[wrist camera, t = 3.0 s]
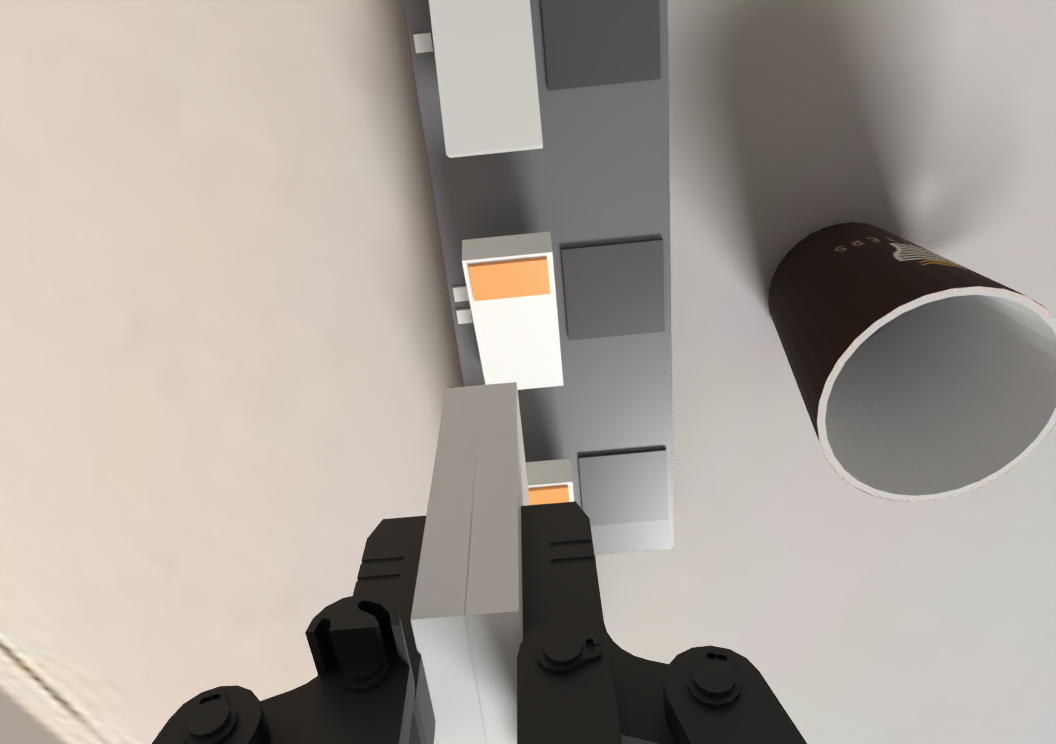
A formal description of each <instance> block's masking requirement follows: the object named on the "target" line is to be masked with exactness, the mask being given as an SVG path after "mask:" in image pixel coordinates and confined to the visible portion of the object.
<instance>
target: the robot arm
mask: <svg viewBox="0 0 1056 744" xmlns="http://www.w3.org/2000/svg"><path fill="white" fill-rule="evenodd" d="M357 578H358V582H356V585H355V589H354V593H353V596H351V597H347V598H343V599H341V600H339V601H337V602H335V603H333V604H331V605H329V606H327V607H325V608H324V609H323V610H322V611H321V612H320V613H319V614H318V615H317V616H315V617H314V618H313V620H312V621H311V623H310V625H309V627H308V629H307V631H306V632H305V633H306V636H307V640H308V643H309V646H310V649H311V653H312V656H313V659H314V662H315V666H316V669H317V672H318V676H317V677H316V678H314V679H313V680H311V681H310V682H308V683H307V684H305V685H302V686H300V687H298V688H296V689H293V690H291V691H288V692H285V693H283V694H280V695H277V696H274V697H271V698H268V699H265V700H263V701H259V699H258V698H257V697H256V696H255V695H254V693H253V692H252V691H251V690H248V689H245V688H243V687H240V686H220V687H217V688H214V689H211V690H208V691H205V692H202V693H200V694H199V695H197V696H195V697H194V698H192V699H191V700H189V701H188V702H186V703H185V704H183V705H182V706H181V707H180V708H179V709H178V710H177V712H176V713H175V714H174V715H173V716H172V717H171V718H170V719H169V720H168V722H167V723H166V725H165V726H164V727H163V729H162V730H161V732H160V733H159V734H158V736H157V737H156V739H155V740H154V741H153V743H152V744H433V743H434V733H435V734H436V739H437V743H438V744H807V743H806V741H805V740H804V738H803V737H802V735H801V734H800V732H799V731H798V729H797V728H796V726H795V725H794V723H793V722H792V720H791V719H790V717H789V716H788V714H787V713H786V711H785V710H784V708H783V707H782V705H781V704H780V702H779V701H778V699H777V698H776V696H775V695H774V693H773V692H772V690H771V688H770V687H769V685H768V684H767V682H766V681H765V679H764V678H763V676H762V675H761V673H760V672H759V671H758V670H757V669H756V668H755V666H754V665H753V664H752V663H751V662H750V661H749V660H748V659H747V658H745V657H743V656H741V655H739V654H738V653H736V652H734V651H732V650H730V649H725V648H720V647H715V646H704V647H695V648H691V649H689V650H687V651H685V652H683V653H680V654H678V655H677V656H676V657H675V658H674V659H673V661H672V662H671V663H670V664H665V663H660V662H655V661H650V660H646V659H643V658H639V657H636V656H634V655H632V654H630V653H628V652H626V651H624V650H623V649H621V648H620V647H619V646H618V645H617V644H616V643H615V642H613V640H612V639H611V637H610V636H609V634H608V633H607V631H606V628H605V624H604V621H603V613H602V606H601V599H600V591H599V584H598V577H597V570H596V562H595V555H594V548H593V541H592V533H591V526H590V519H589V517H588V516H587V515H586V514H585V512H584V511H583V510H582V509H581V507H580V506H579V505H578V504H577V502H576V501H574V502H562V503H550V504H538V505H529V496H528V480H527V471H526V462H525V453H524V444H523V435H522V426H521V417H520V408H519V399H518V390H517V382H511V383H499V384H488V385H477V386H465V387H454V388H446V392H445V399H444V405H443V412H442V418H441V425H440V431H439V438H438V444H437V451H436V457H435V464H434V470H433V477H432V483H431V490H430V496H429V503H428V509H427V516H417V517H405V518H393V519H383V520H382V521H381V522H380V524H379V525H378V526H377V527H376V529H375V530H374V531H373V532H372V534H371V535H370V536H369V537H368V538H367V541H366V545H365V549H364V553H363V557H362V564H361V565H360V569H359V573H358V577H357Z"/></svg>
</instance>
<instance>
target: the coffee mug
mask: <svg viewBox="0 0 1056 744" xmlns="http://www.w3.org/2000/svg"><path fill="white" fill-rule="evenodd" d="M769 307H770V313H771V316H772V319H773V322H774V324H775V327H776V330H777V332H778V335H779V337H780V340H781V343H782V345H783V348H784V350H785V353H786V356H787V358H788V361H789V364H790V366H791V369H792V371H793V374H794V377H795V379H796V382H797V385H798V387H799V390H800V392H801V395H802V398H803V400H804V403H805V406H806V408H807V411H808V413H809V416H810V419H811V421H812V424H813V426H814V429H815V432H816V434H817V437H818V440H819V442H820V445H821V447H822V449H823V452H824V454H825V457H826V459H827V461H828V462H829V463H830V465H831V466H832V467H833V469H834V470H835V471H836V473H837V474H838V475H839V476H841V477H842V478H843V479H844V480H846V481H847V482H848V483H849V484H851V485H852V486H853V487H855V488H857V489H859V490H861V491H864V492H866V493H868V494H870V495H873V496H877V497H880V498H884V499H888V500H895V501H907V502H918V501H931V500H938V499H943V498H947V497H952V496H956V495H960V494H962V493H965V492H968V491H970V490H973V489H976V488H978V487H981V486H983V485H985V484H987V483H989V482H990V481H992V480H994V479H996V478H998V477H1000V476H1002V475H1003V474H1005V473H1006V472H1008V471H1009V470H1010V469H1012V468H1013V467H1014V466H1016V465H1017V464H1019V463H1020V462H1021V461H1023V460H1024V459H1025V458H1026V457H1027V456H1028V455H1029V454H1030V453H1031V452H1032V451H1033V450H1034V449H1035V448H1036V447H1037V446H1038V445H1039V444H1040V443H1041V442H1042V441H1043V440H1044V438H1045V437H1046V436H1047V434H1048V433H1049V432H1050V430H1051V429H1052V428H1053V426H1054V425H1055V424H1056V318H1055V317H1054V316H1053V315H1052V314H1051V313H1050V312H1049V311H1048V310H1047V309H1046V308H1045V307H1044V306H1042V305H1041V304H1039V303H1037V302H1036V301H1034V300H1032V299H1031V298H1029V297H1027V296H1025V295H1023V294H1021V293H1019V292H1017V291H1015V290H1012V289H1010V288H1008V287H1006V286H1004V285H1002V284H999V283H997V282H995V281H993V280H991V279H989V278H987V277H984V276H982V275H980V274H978V273H976V272H974V271H971V270H969V269H967V268H965V267H963V266H961V265H958V264H956V263H954V262H952V261H950V260H948V259H945V258H943V257H941V256H939V255H937V254H935V253H932V252H930V251H928V250H926V249H924V248H922V247H919V246H917V245H915V244H913V243H911V242H909V241H907V240H904V239H902V238H900V237H898V236H896V235H894V234H891V233H889V232H887V231H885V230H883V229H881V228H878V227H875V226H872V225H869V224H862V223H844V224H837V225H833V226H829V227H826V228H823V229H821V230H819V231H817V232H815V233H812V234H811V235H809V236H808V237H806V238H805V239H803V240H802V241H800V242H799V243H798V244H797V245H796V246H795V247H794V248H793V249H791V250H790V251H789V252H788V253H787V255H786V256H785V258H784V259H783V260H782V262H781V263H780V264H779V266H778V268H777V270H776V272H775V274H774V276H773V279H772V283H771V286H770V291H769Z"/></svg>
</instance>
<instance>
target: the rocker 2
mask: <svg viewBox="0 0 1056 744" xmlns="http://www.w3.org/2000/svg"><path fill="white" fill-rule="evenodd" d="M462 265H463V270H464V275H465V280H466V286H467V291H468V296H469V301H470V306H471V312H472V317H473V322H474V327H475V333H476V338H477V343H478V348H479V353H480V359H481V364H482V369H483V374H484V380H485V385H488V384H499V383H511V382H517V390H521V389H532V388H543V387H554V386H564V385H563V373H562V361H561V349H560V337H559V326H558V314H557V302H556V290H555V278H554V266H553V254H552V244H551V234H550V231H549V232H539V233H529V234H519V235H509V236H499V237H488V238H478V239H468V240H462Z"/></svg>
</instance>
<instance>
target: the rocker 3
mask: <svg viewBox="0 0 1056 744" xmlns="http://www.w3.org/2000/svg"><path fill="white" fill-rule="evenodd" d="M526 471H527V480H528V496H529V505H538V504H550V503H562V502H574V494H573V482H572V472H571V462H570V459H558V460H547V461H536V462H526Z"/></svg>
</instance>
